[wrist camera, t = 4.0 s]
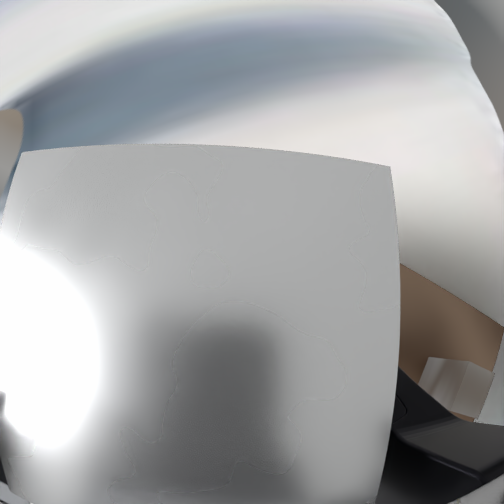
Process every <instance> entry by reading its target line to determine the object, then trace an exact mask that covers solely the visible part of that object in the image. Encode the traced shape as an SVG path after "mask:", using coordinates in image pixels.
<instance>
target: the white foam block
mask: <svg viewBox="0 0 504 504" xmlns="http://www.w3.org/2000/svg"><path fill="white" fill-rule="evenodd" d="M399 341H400V262H399V244H398V230H397V219H396V209H395V199H394V191H393V183H392V176H391V169H390V167H389V166H384V165H379V164H374V163H368V162H362V161H356V160H350V159H344V158H338V157H331V156H324V155H316V154H309V153H300V152H292V151H283V150H273V149H262V148H249V147H235V146H218V145H195V144H119V145H97V146H80V147H67V148H56V149H46V150H37V151H29V152H22V154H21V157H20V160H19V163H18V166H17V169H16V172H15V175H14V178H13V181H12V184H11V188H10V191H9V195H8V198H7V202H6V206H5V210H4V214H3V218H2V222H1V227H0V457H1V461H2V465H3V469H4V473H5V476H6V480H7V483H8V487H9V490H10V492H11V493H13V494H15V495H17V496H19V497H21V498H23V499H25V500H26V501H28V502H30V503H32V504H375V501H376V497H377V493H378V489H379V485H380V481H381V477H382V472H383V468H384V463H385V458H386V453H387V448H388V442H389V436H390V430H391V424H392V417H393V409H394V401H395V393H396V383H397V372H398V358H399Z"/></svg>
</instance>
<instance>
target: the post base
mask: <svg viewBox="0 0 504 504" xmlns="http://www.w3.org/2000/svg"><path fill="white" fill-rule="evenodd" d="M503 332H504V327H503V326H501V325H500V324H498V323H497V322H495V321H494V320H492V319H491V318H489V317H488V316H486V315H484V314H483V313H481V312H480V311H478V310H477V309H475V308H474V307H472V306H470V305H469V304H467V303H466V302H464V301H462V300H461V299H459V298H458V297H456V296H454V295H453V294H451V293H450V292H448V291H446V290H445V289H443V288H441V287H440V286H438V285H436V284H435V283H433V282H431V281H430V280H428V279H426V278H425V277H423V276H421V275H419V274H418V273H416V272H414V271H413V270H411V269H409V268H407V267H406V266H404V265H402V264H400V341H399V358H398V366H399V367H400V368H401V369H402V370H403V371H404V372H405V373H406V374H407V375H408V376H409V377H410V378H411V379H412V380H413V381H415V382H416V383H417V384H418V385H419V386H420V387H421V388H423V389H424V390H425V391H426V392H427V393H428V394H430V395H431V396H432V397H433V398H434V399H436V400H437V401H438V402H439V403H440V404H441V405H443V406H444V407H445V408H446V409H447V410H449V411H450V412H451V413H452V414H454V415H455V416H457V417H459V418H461V419H463V420H466V421H470V422H473V421H474V419H475V418H476V419H478V417H479V414H480V412H481V410H482V407H483V405H484V402H485V400H486V397H487V394H488V392H489V389H490V386H491V383H492V380H493V377H494V374H495V373H493V372H492V371H493V368H494V365H495V362H496V358H497V355H498V351H499V348H500V344H501V340H502V336H503Z"/></svg>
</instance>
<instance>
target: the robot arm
mask: <svg viewBox="0 0 504 504" xmlns="http://www.w3.org/2000/svg"><path fill="white" fill-rule="evenodd" d="M0 504H30V502H28V501H26V500H25V499H23V498H21V497H19V496H17V495H15V494H13V493H11V492H10V490H9V487H8V483H7V480H6V476H5V473H4V469H3V465H2V461H1V457H0ZM375 504H504V426H499V425H491V424H483V423H476V422H470V421H466V420H463V419H461V418H459V417H457V416H455V415H454V414H452V413H451V412H450V411H449V410H447V409H446V408H445V407H444V406H443V405H441V404H440V403H439V402H438V401H437V400H436V399H434V398H433V397H432V396H431V395H430V394H428V393H427V392H426V391H425V390H424V389H423V388H421V387H420V386H419V385H418V384H417V383H416V382H415V381H413V380H412V379H411V378H410V377H409V376H408V375H407V374H406V373H405V372H404V371H403V370H402V369H401V368H400V367H399V366H398V372H397V383H396V393H395V401H394V409H393V417H392V424H391V430H390V436H389V442H388V448H387V453H386V458H385V463H384V468H383V472H382V477H381V481H380V485H379V489H378V493H377V497H376V501H375Z"/></svg>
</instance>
